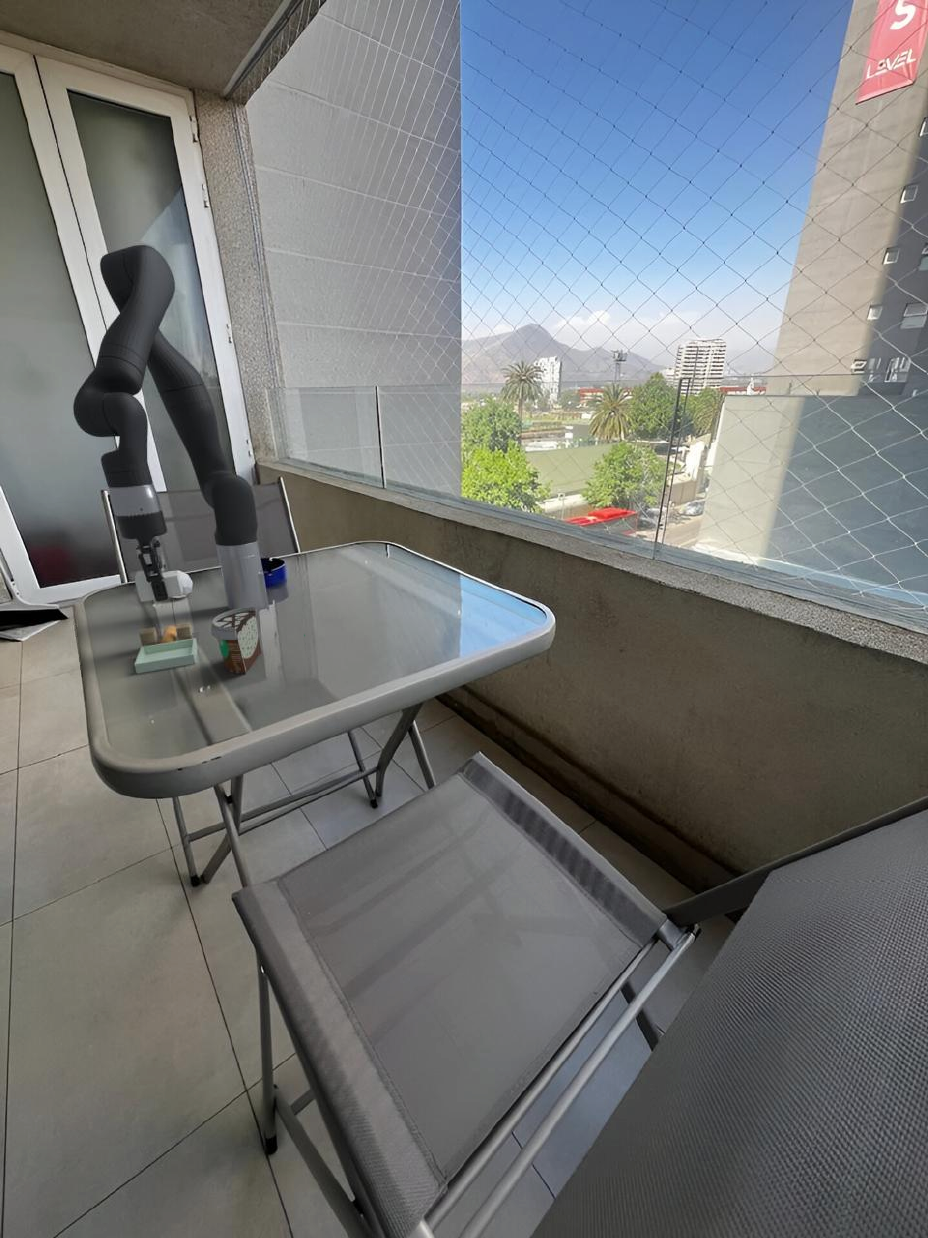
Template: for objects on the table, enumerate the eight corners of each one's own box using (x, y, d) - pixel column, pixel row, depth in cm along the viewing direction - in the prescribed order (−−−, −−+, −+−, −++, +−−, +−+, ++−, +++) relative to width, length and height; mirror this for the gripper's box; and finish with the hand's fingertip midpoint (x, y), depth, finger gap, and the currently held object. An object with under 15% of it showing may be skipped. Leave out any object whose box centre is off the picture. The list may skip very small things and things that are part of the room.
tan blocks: (194, 639, 104) (189, 622, 103) (193, 644, 102) (189, 626, 100) (146, 647, 101) (141, 629, 99) (144, 652, 98) (139, 634, 97)
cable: (179, 633, 108) (176, 623, 107) (175, 648, 100) (173, 637, 99) (166, 635, 107) (164, 625, 106) (162, 650, 99) (159, 639, 98)
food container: (233, 653, 99) (224, 606, 95) (264, 651, 99) (256, 605, 96) (209, 682, 87) (197, 630, 84) (244, 680, 88) (234, 629, 84)
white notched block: (182, 589, 101) (176, 565, 99) (182, 595, 97) (175, 571, 95) (143, 595, 98) (136, 571, 96) (141, 601, 94) (133, 577, 92)
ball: (190, 606, 135) (202, 584, 133) (160, 604, 128) (172, 580, 126) (179, 588, 138) (191, 566, 136) (149, 585, 131) (161, 562, 129)
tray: (197, 646, 101) (195, 638, 100) (195, 663, 93) (193, 654, 93) (143, 655, 97) (141, 646, 96) (137, 673, 89) (134, 664, 89)
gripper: (159, 513, 87) (183, 603, 93) (163, 503, 98) (185, 584, 105) (108, 518, 84) (137, 611, 90) (119, 507, 95) (144, 590, 102)
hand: (163, 596), depth 97 cm, fingers closed on white notched block, 4 cm apart
